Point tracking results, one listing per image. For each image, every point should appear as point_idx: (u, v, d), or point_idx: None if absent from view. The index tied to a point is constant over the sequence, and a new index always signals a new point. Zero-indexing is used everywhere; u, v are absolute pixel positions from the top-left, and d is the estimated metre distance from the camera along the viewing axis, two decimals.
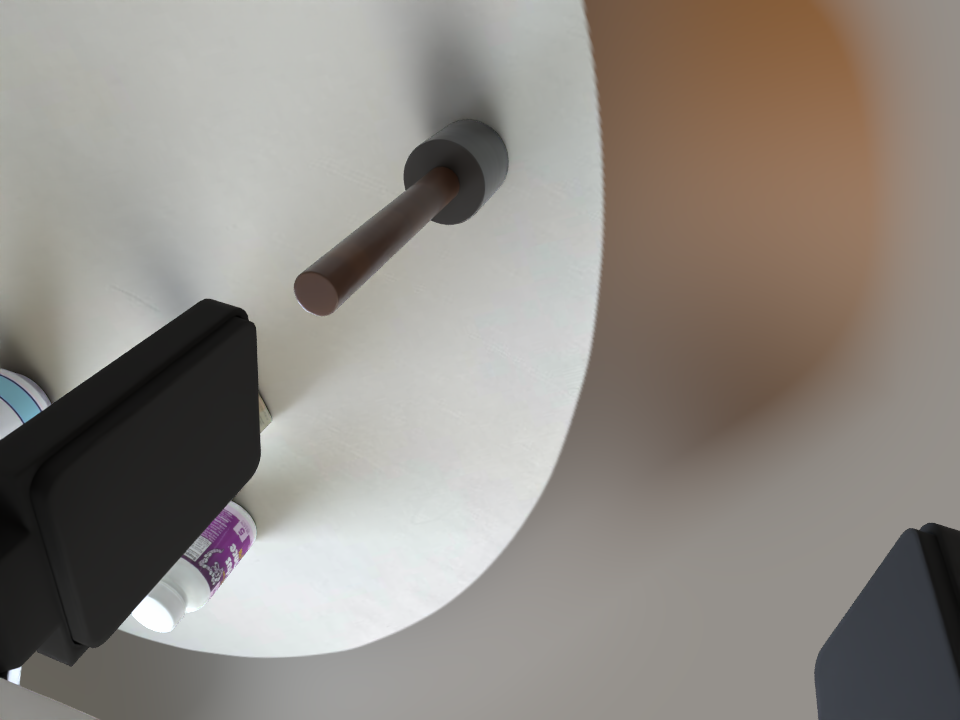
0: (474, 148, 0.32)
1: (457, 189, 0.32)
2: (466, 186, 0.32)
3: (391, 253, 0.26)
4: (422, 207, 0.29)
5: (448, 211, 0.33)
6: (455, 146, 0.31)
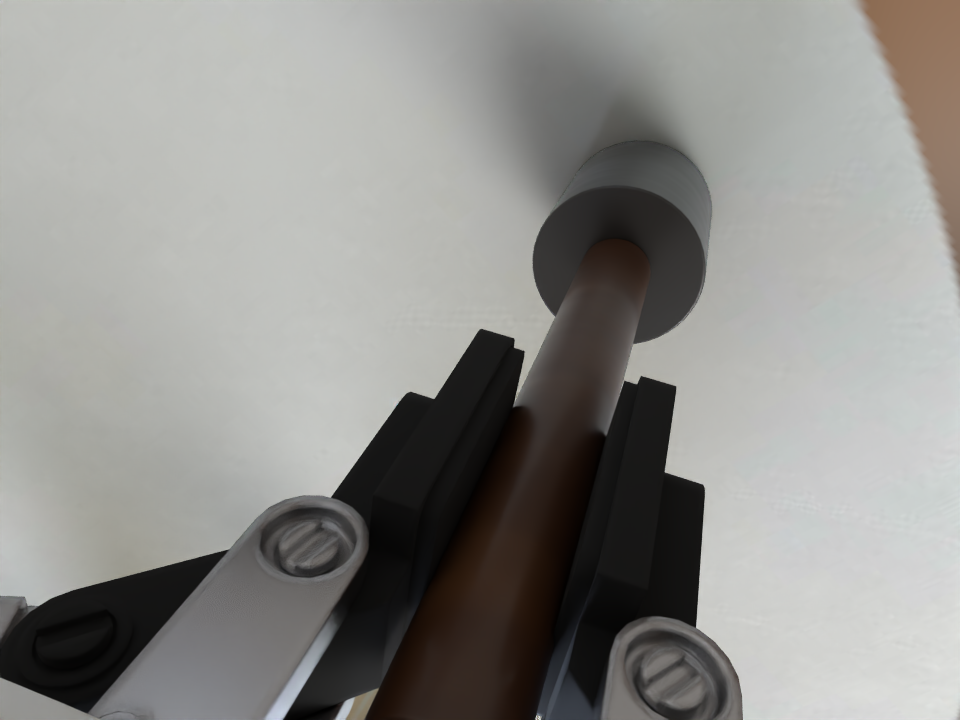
0: (650, 181, 0.16)
1: (648, 269, 0.16)
2: (662, 257, 0.16)
3: None
4: (609, 337, 0.12)
5: (643, 316, 0.17)
6: (613, 192, 0.16)
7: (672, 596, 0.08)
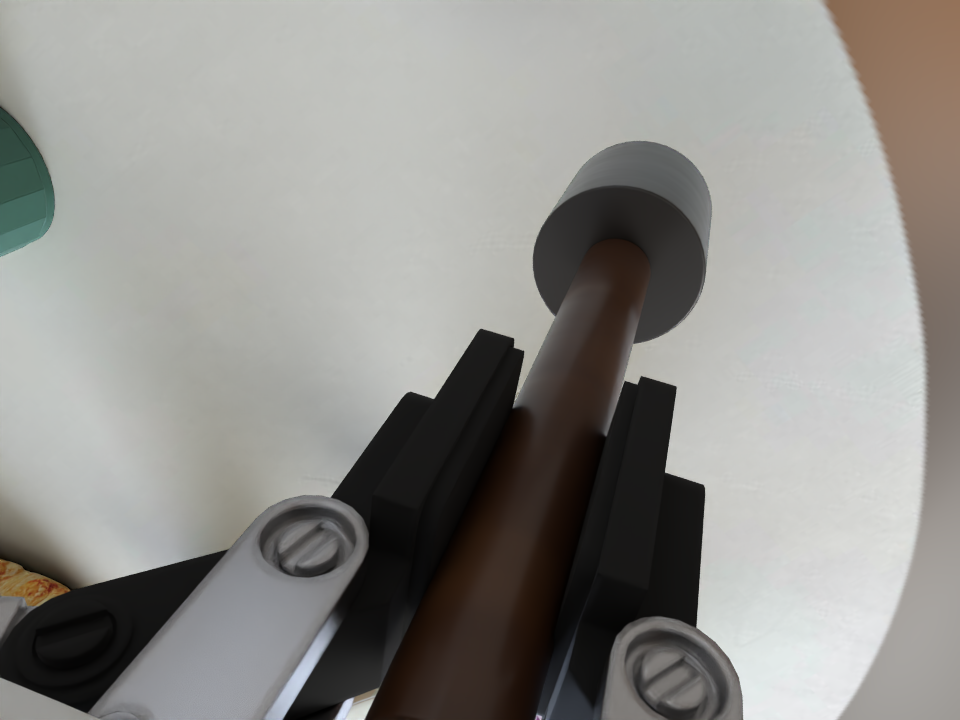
0: (650, 181, 0.16)
1: (648, 269, 0.16)
2: (662, 257, 0.16)
3: None
4: (609, 337, 0.12)
5: (643, 315, 0.17)
6: (614, 192, 0.16)
7: (672, 596, 0.08)
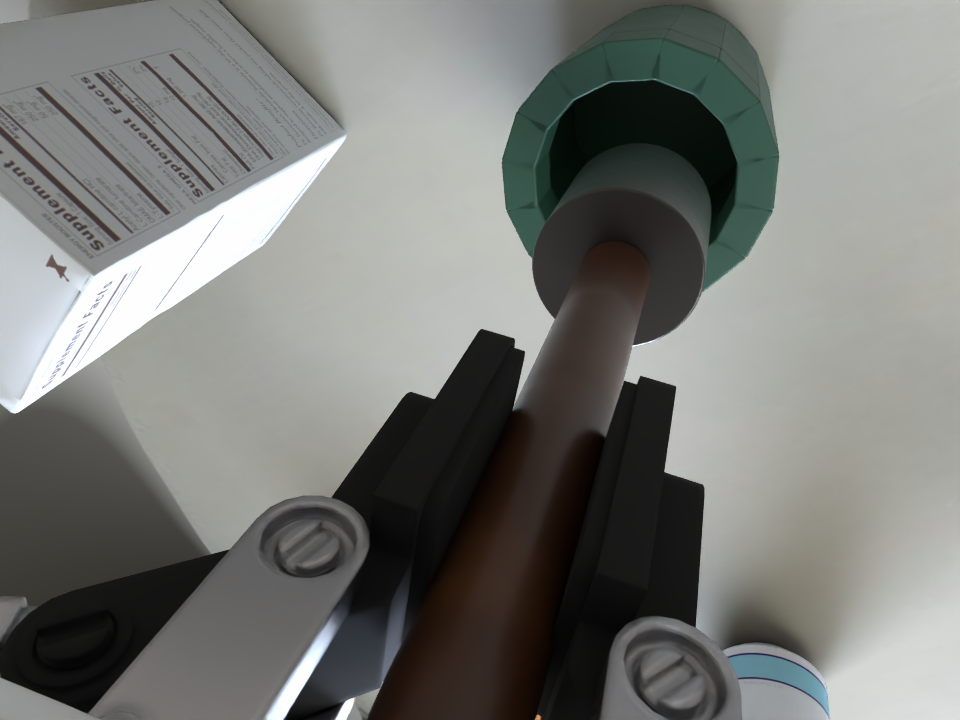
0: (650, 183, 0.16)
1: (648, 272, 0.16)
2: (662, 259, 0.16)
3: None
4: (609, 340, 0.12)
5: (642, 317, 0.17)
6: (613, 194, 0.16)
7: (672, 596, 0.08)
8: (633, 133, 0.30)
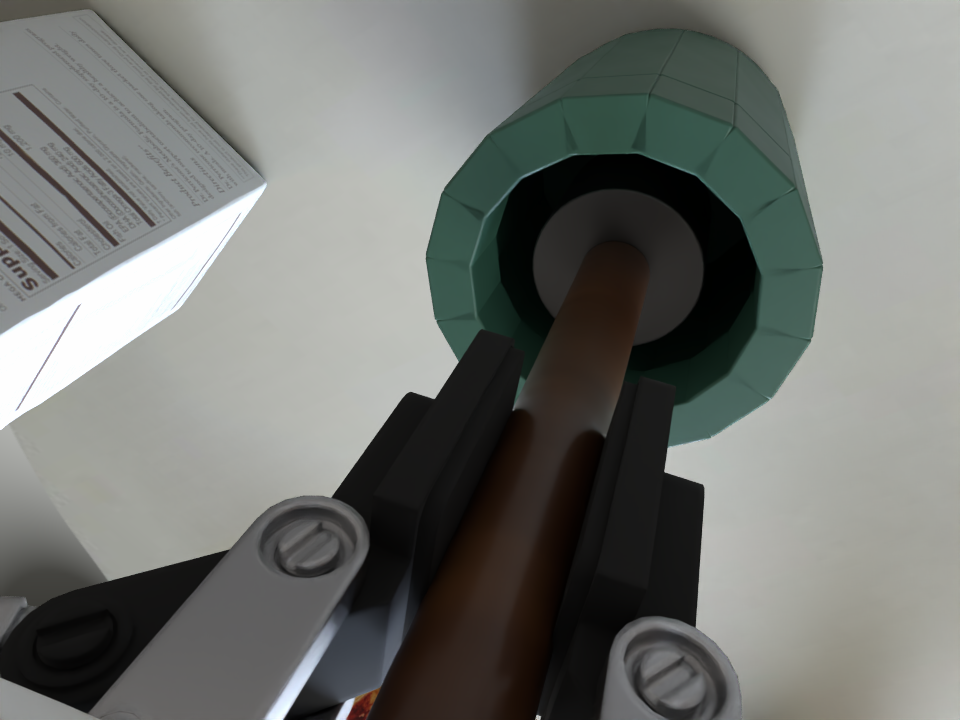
0: (649, 184, 0.16)
1: (647, 272, 0.16)
2: (661, 259, 0.16)
3: None
4: (608, 340, 0.12)
5: (642, 318, 0.17)
6: (613, 195, 0.16)
7: (672, 596, 0.08)
8: None
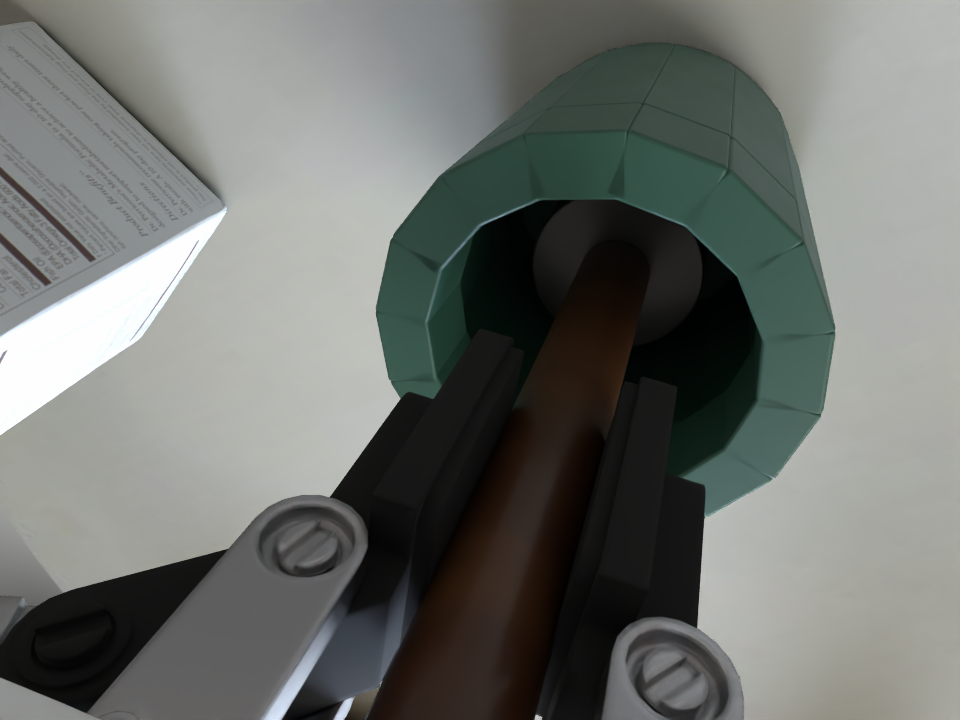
0: None
1: (647, 272, 0.16)
2: (662, 259, 0.16)
3: (591, 491, 0.10)
4: (608, 340, 0.12)
5: (642, 318, 0.17)
6: None
7: (673, 596, 0.08)
8: None
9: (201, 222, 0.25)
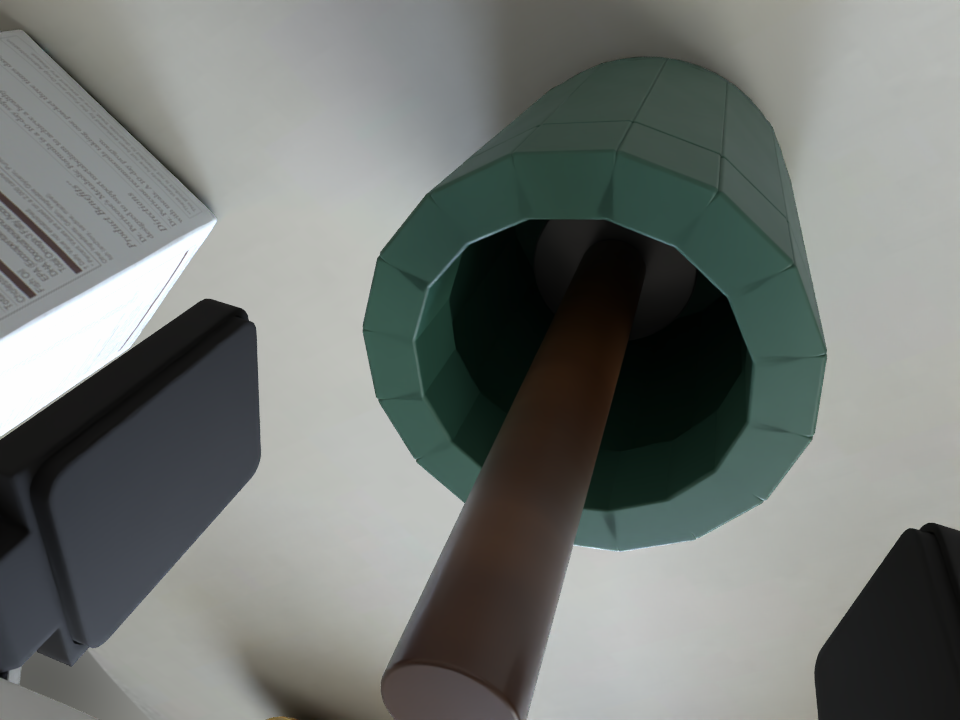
0: None
1: (643, 269, 0.17)
2: (657, 257, 0.17)
3: (591, 467, 0.11)
4: (606, 331, 0.13)
5: (638, 313, 0.18)
6: None
7: None
8: None
9: (190, 233, 0.24)
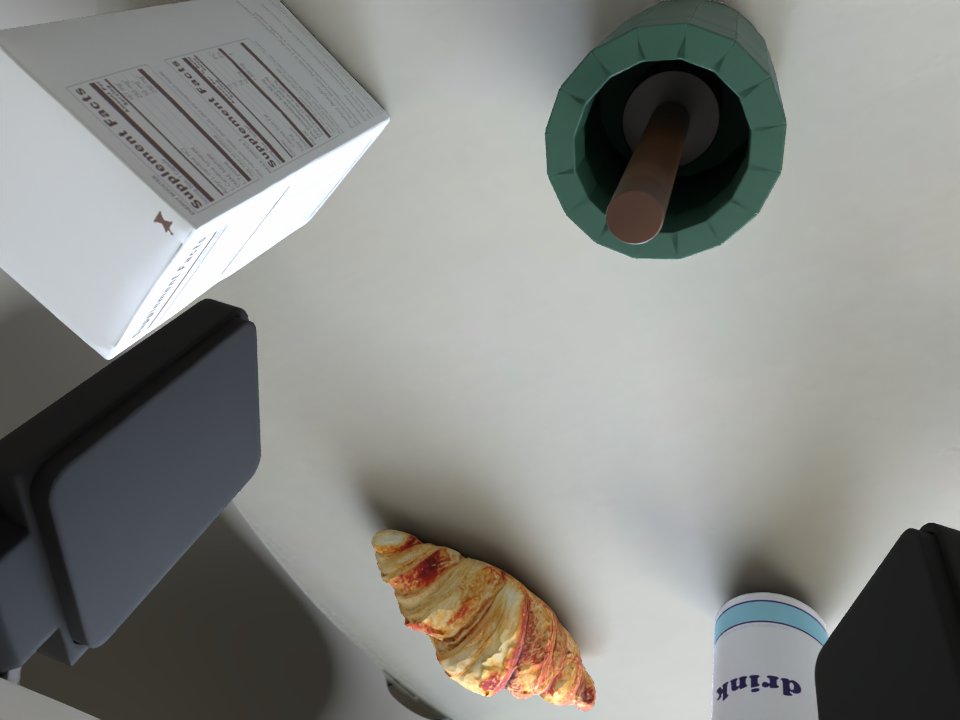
0: (690, 69, 0.29)
1: (688, 117, 0.29)
2: (696, 111, 0.29)
3: (675, 172, 0.23)
4: (675, 130, 0.26)
5: (684, 148, 0.30)
6: (670, 74, 0.29)
7: None
8: None
9: (378, 124, 0.37)
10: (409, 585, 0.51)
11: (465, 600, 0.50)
